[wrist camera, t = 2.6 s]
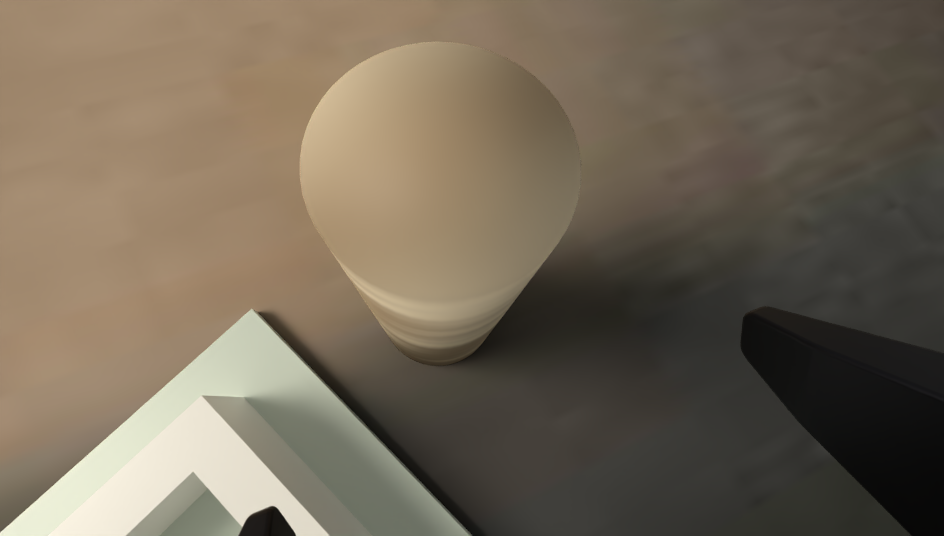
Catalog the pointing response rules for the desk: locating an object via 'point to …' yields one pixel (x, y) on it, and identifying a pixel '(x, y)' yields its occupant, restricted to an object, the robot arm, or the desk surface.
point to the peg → (440, 189)
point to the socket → (240, 458)
